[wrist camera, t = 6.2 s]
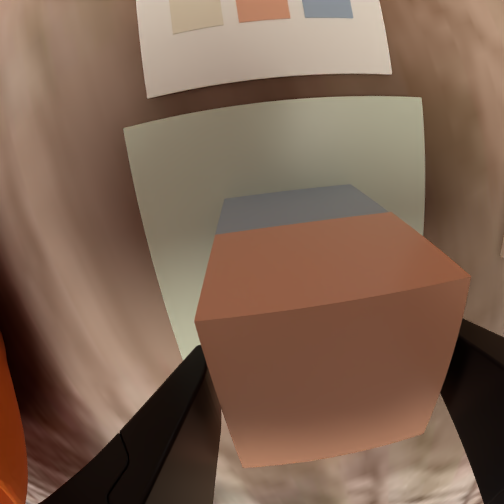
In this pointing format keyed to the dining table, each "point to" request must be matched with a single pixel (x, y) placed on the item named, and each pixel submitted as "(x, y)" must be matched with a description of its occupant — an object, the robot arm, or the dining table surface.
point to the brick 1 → (328, 335)
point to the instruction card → (257, 41)
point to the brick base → (294, 208)
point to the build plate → (264, 174)
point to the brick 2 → (502, 249)
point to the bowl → (11, 440)
